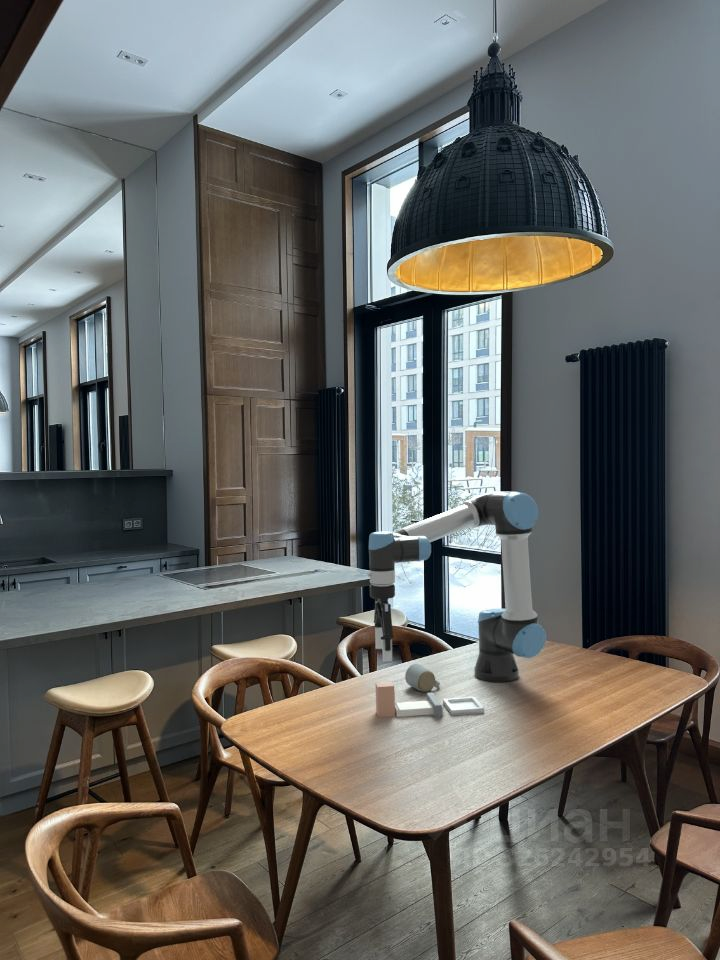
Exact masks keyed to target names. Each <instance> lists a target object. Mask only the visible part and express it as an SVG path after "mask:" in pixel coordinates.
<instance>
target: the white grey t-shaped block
mask: <svg viewBox="0 0 720 960" xmlns="http://www.w3.org/2000/svg"><path fill="white" fill-rule="evenodd" d="M442 704H443V703H441V702H440V700H439V699H438V697H437V696H436V694H435V693H434V692H426V700H419V701H417V700H416V701H406V702H404V701H403V702H402V701H401V702H395V716H396V717H398V718H400V717H401V718H403V717H413V716H414V717H415V716H425V715H427V716H428V715H429V716H430V715H434V717H435V718H442V717H443V714H444V706H443V705H442Z"/></svg>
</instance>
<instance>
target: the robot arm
mask: <svg viewBox="0 0 720 960" xmlns="http://www.w3.org/2000/svg"><path fill="white" fill-rule="evenodd" d="M538 517H539V509H538V505H537V503H536V501H535V499H534V498H533V497H531V496H530V495H529V494H527V493H526V492H525V493H524V492H521V491H520V492H519V491H504V490H503V491H502V490H492V491H489V492H486V493H483V494H480V495H477V496H475V497H473V498H470V499H468V500H464V501H463V502H462V503H461V505H460V506H458V507H455V508H452V509H450V510H447V511H445V512H442V513H440V514H436V515H434V516H432V517H429V518H426V519H424V520H421V521H418V522H416V523H413V524H410V525H407V526H405V527H402V528H399V529H397V530H394V531H375V532H371V533H370V534H369V536H368V537H369V538H368V554H369V555H368V557H369V561H368V562H369V573H367V577H369V583H370V585H369V596H370V598H372V599H374V615H373V616H374V617H373V623H374V635H375V636H374V637H375V639H374V640H375V650H382V662H383V663H384V662H385V663H386V662H393V639H394V631H393V620H392V610H391V609H392V605H391V603H389V600H390V599H393V598H395V597H396V585H395V582H396V571H395V570H396V569H395V564H398V563H409V562H410V563H411V562H421V561H427V560H428V559H429V558H430V556H431V553H432V544H431V543H433V542H434V541H437V540H439V539H443V538H445V537H447V536H449V535H452V534H455V533H457V532H459V531H462V530H466V529H467V528H471V529H472V528H473V529H476V528H479V527H481V526H495V534H496V536H497V537H499V539H500V543H501V560H502V573H503V574H502V575H503V587H504V589H503V591H504V592H503V593H504V603H505V604H504V606H505V608H489V609H484V610H481V611H480V612H479V613H478V617H477V618H478V621H477V623H478V624H477V625H478V656H477V659H476V662H475V665H474V670H473V671H474V676H475V678H477V679H479V680H482V681H486V682H494V683H495V682H496V683H504V682H512V681H514V680H516V679H518V678H519V676H520V675H519V673H520V672H519V667H518V664H517V660H516V658H515V656H517V657H520V658H525V659H531V658H534V657H536V656H538V655H539V654H540V653H541V652H542V650H543V649H544V647H545V646H546V641H547V633H546V630H545V628H543V626H542V625H541V624H539V619H538V618H539V616H538V613H537V612H536V611H535V610H534V609H533V602H532V601H533V598H532V584H531V582H532V581H531V572H530V571H531V570H530V569H531V567H530V553H529V536H530V535H532V533H533V529H532V528H533V527H534V526H535V524H536V522H537V520H538Z"/></svg>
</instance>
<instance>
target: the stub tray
mask: <svg viewBox="0 0 720 960" xmlns="http://www.w3.org/2000/svg"><path fill="white" fill-rule="evenodd" d="M442 704H443V705H444V707H445V708H446V711H448V712H449V713H450V715H451V716H462V715H474V714H477V715H478V714H485V707H484V705H482V703H481V702H480V701H479V700H478V699H477V698H476V697H475V696H463V697H462V696H461V697H449V698H442Z"/></svg>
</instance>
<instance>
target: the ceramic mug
mask: <svg viewBox="0 0 720 960" xmlns="http://www.w3.org/2000/svg"><path fill="white" fill-rule="evenodd" d="M404 679H405V682H406V684H407V685H408V686H409V687H412V688H414V689H416V690H418V691H420V692H421V693H429V692H430V691H432V690H433V688H439V687H440V685H441V683H440V681H437V680H436V676H435V674H434V673H433V672H432V671H431V670H430V669H428V668H426V667H425V666H423V665H422V664H419V663H413V664H411V665H410V666H409V667H408V668H407V669H406V671H405V676H404Z"/></svg>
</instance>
